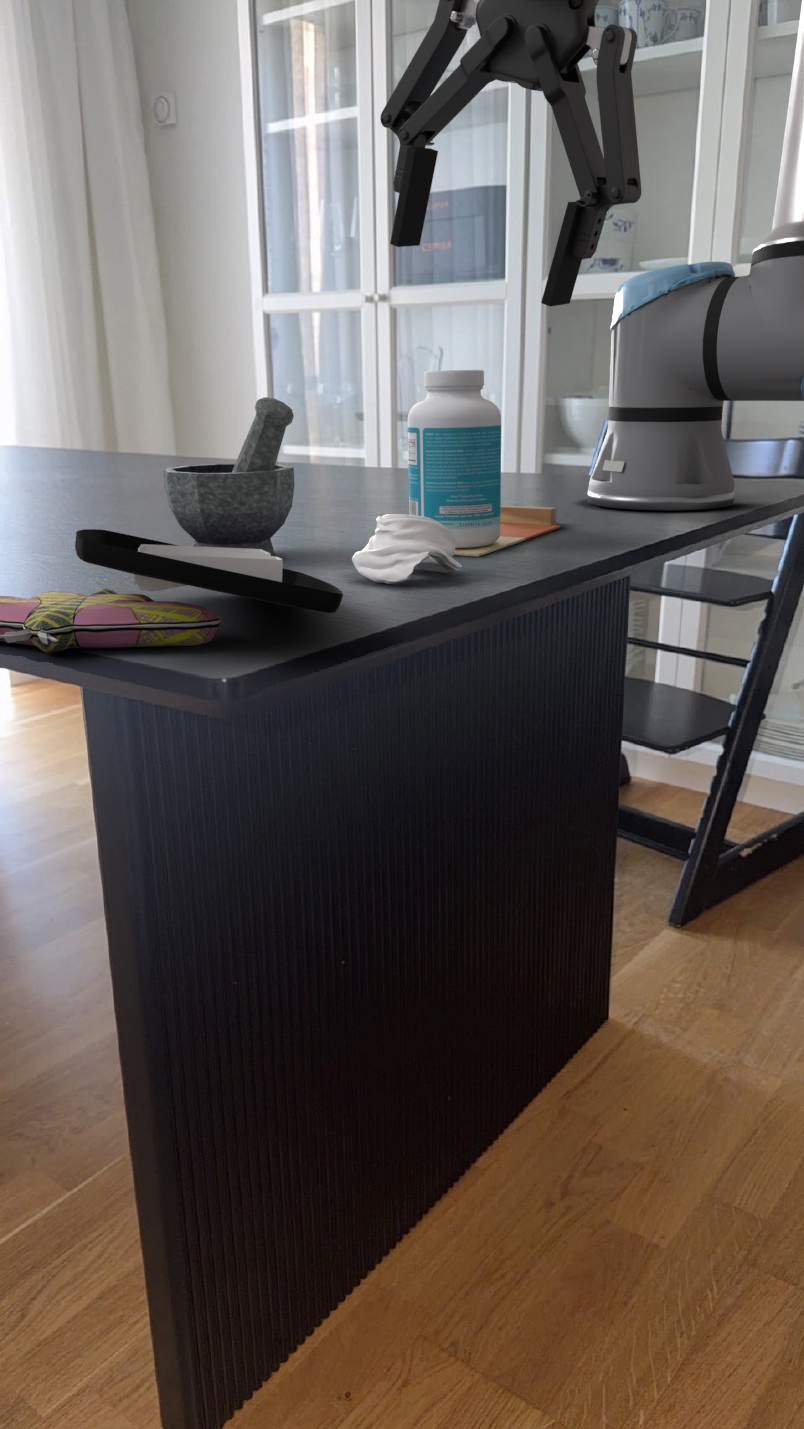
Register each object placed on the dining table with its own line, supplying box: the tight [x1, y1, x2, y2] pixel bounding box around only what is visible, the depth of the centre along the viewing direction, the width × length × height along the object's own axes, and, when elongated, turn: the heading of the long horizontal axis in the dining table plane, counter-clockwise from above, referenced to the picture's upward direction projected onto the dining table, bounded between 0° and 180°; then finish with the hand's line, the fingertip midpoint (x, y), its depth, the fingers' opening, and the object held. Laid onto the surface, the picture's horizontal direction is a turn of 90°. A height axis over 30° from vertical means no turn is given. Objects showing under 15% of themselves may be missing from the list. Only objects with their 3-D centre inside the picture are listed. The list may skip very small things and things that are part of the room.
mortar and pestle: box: [162, 396, 295, 557], centre depth 80 cm, size 11×9×12 cm
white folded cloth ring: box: [351, 513, 463, 585], centre depth 73 cm, size 8×7×5 cm
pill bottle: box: [407, 369, 502, 548], centre depth 85 cm, size 8×7×14 cm
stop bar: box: [500, 504, 558, 525], centre depth 99 cm, size 1×6×2 cm, turn 61°
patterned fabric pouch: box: [0, 588, 222, 654], centre depth 56 cm, size 17×2×10 cm
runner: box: [453, 522, 562, 558], centre depth 91 cm, size 18×8×1 cm, turn 152°
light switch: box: [74, 528, 344, 614], centre depth 59 cm, size 20×3×14 cm
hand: (477, 273), depth 77 cm, fingers open, 13 cm apart
